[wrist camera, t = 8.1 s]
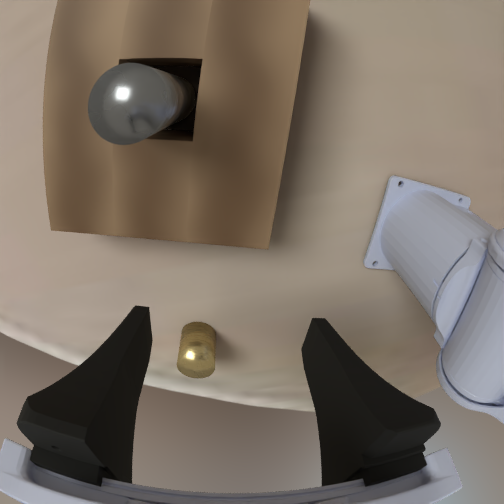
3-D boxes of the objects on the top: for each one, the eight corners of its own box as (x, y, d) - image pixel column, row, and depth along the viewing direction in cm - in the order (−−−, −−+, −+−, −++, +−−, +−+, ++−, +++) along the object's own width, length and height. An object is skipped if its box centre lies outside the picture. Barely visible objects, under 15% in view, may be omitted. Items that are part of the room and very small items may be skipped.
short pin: (216, 323, 26) (215, 356, 23) (214, 346, 28) (213, 379, 24) (181, 320, 26) (176, 353, 22) (181, 344, 28) (177, 376, 24)
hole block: (296, 1, 14) (313, -21, 10) (261, 219, 22) (268, 249, 18) (92, -2, 12) (62, -18, 8) (79, 204, 20) (51, 230, 16)
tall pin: (198, 76, 16) (171, 61, 9) (193, 123, 18) (164, 145, 10) (150, 76, 16) (90, 66, 8) (146, 122, 18) (87, 145, 10)
